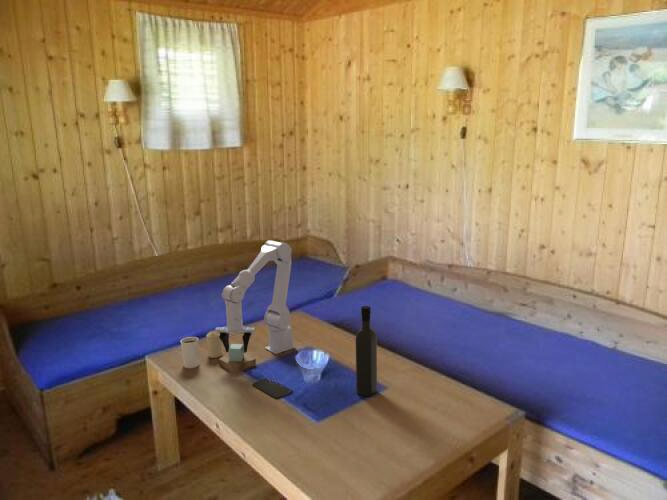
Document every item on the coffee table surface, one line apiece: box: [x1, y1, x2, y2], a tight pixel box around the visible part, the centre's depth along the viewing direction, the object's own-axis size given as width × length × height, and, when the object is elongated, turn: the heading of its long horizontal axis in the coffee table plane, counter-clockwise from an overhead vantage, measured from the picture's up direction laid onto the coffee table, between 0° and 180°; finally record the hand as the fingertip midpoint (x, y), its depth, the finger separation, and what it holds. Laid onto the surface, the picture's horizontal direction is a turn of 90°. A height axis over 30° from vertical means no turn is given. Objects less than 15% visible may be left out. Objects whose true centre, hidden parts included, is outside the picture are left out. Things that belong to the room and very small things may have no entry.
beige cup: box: [180, 336, 200, 369], centre depth 207 cm, size 7×7×10 cm
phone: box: [251, 377, 293, 400], centre depth 188 cm, size 7×1×15 cm
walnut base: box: [218, 352, 257, 374], centre depth 207 cm, size 10×10×3 cm
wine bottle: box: [355, 305, 378, 398], centre depth 180 cm, size 6×6×30 cm
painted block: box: [228, 343, 244, 361], centre depth 206 cm, size 4×4×5 cm
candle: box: [206, 329, 223, 359], centre depth 215 cm, size 6×6×10 cm
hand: (236, 351), depth 206 cm, fingers open, 6 cm apart
